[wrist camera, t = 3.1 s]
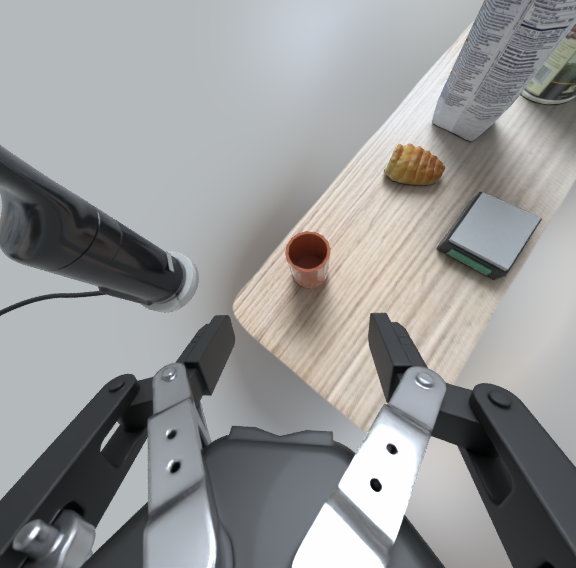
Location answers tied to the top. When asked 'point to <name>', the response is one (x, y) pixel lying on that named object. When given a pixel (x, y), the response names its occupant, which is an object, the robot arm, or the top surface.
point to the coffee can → (556, 75)
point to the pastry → (414, 166)
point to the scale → (489, 235)
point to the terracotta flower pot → (308, 259)
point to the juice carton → (500, 61)
